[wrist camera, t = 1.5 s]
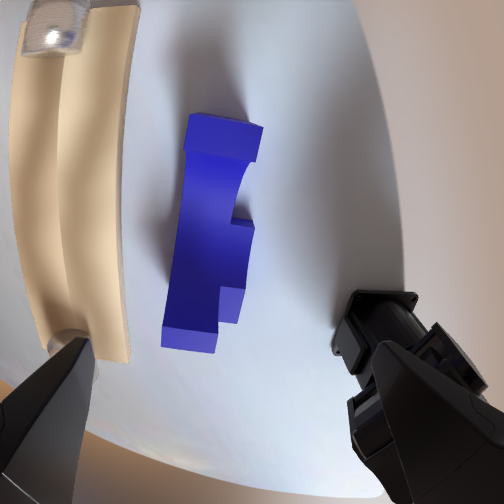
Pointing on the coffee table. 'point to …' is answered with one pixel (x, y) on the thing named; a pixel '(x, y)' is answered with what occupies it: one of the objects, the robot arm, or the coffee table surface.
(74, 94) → the light wooden board
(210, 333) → the cable clip
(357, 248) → the coffee table surface
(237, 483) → the coffee table surface
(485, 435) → the robot arm
